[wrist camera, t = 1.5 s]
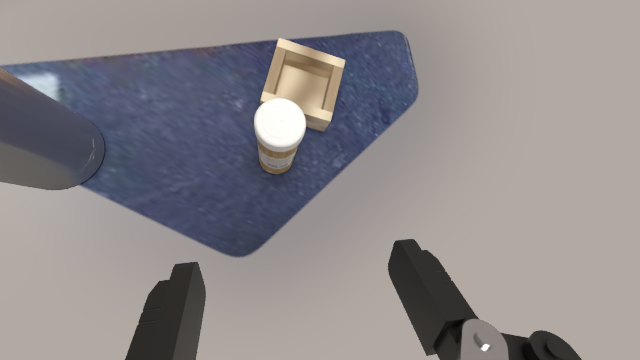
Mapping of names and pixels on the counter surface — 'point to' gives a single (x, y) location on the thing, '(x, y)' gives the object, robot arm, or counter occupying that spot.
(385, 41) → the counter surface
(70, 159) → the robot arm
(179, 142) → the counter surface
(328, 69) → the socket block
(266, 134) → the sprinkles bottle
